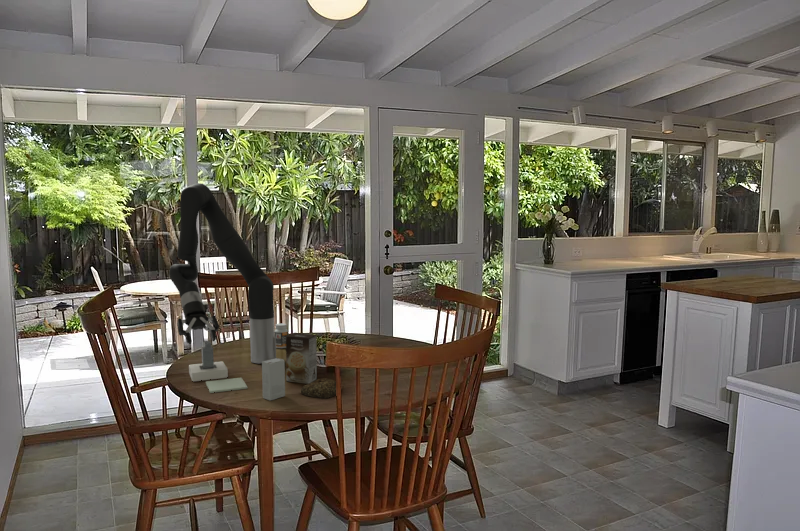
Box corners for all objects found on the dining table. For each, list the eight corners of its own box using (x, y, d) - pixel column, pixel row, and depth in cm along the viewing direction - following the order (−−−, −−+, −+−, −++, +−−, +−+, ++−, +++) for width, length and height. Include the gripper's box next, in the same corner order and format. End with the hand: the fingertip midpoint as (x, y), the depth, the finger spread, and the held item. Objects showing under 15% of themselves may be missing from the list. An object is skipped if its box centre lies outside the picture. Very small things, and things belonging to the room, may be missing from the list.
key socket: (223, 369, 227) (222, 361, 226) (227, 377, 216) (227, 369, 216) (189, 372, 222) (188, 364, 222) (192, 381, 211) (192, 373, 211)
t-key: (212, 372, 222) (211, 340, 221) (214, 376, 217) (213, 343, 216) (202, 374, 220) (201, 341, 219) (203, 377, 216) (202, 344, 215)
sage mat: (241, 379, 214) (241, 377, 214) (247, 388, 203) (247, 386, 203) (205, 383, 209) (205, 381, 209) (210, 393, 198) (209, 391, 198)
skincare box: (277, 393, 197) (276, 357, 196) (286, 396, 194) (285, 359, 193) (261, 398, 193) (260, 360, 191) (270, 401, 190) (269, 363, 189)
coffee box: (285, 381, 211) (284, 336, 209) (294, 376, 217) (293, 332, 215) (309, 384, 208) (308, 337, 206) (317, 379, 214) (317, 334, 212)
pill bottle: (285, 349, 258) (284, 325, 257) (272, 348, 260) (272, 325, 259) (290, 345, 264) (289, 323, 263) (277, 345, 265) (277, 322, 264)
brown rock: (325, 401, 191) (325, 386, 190) (295, 395, 197) (294, 380, 197) (349, 390, 202) (349, 376, 201) (320, 385, 208) (319, 370, 208)
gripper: (174, 301, 224) (184, 338, 216) (213, 298, 232) (223, 333, 224) (171, 313, 229) (180, 349, 221) (209, 310, 237) (219, 345, 229)
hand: (202, 341), depth 222 cm, fingers open, 8 cm apart
